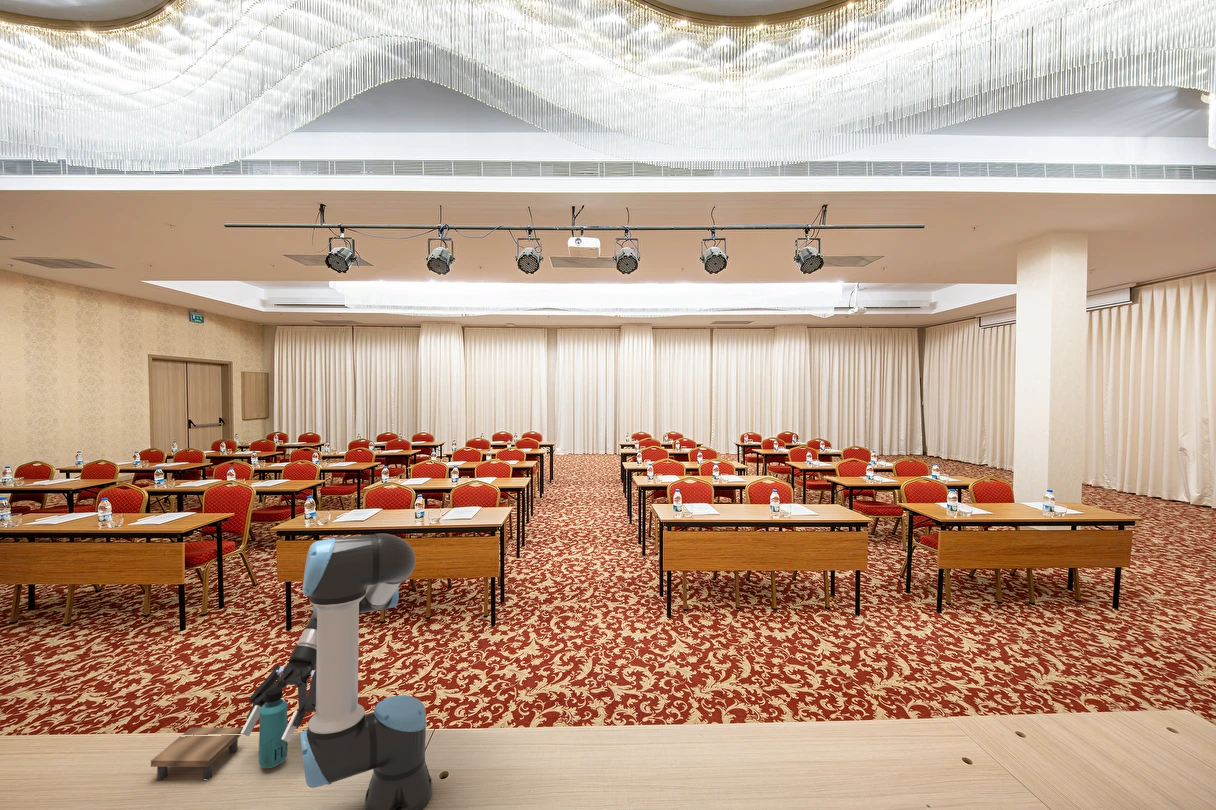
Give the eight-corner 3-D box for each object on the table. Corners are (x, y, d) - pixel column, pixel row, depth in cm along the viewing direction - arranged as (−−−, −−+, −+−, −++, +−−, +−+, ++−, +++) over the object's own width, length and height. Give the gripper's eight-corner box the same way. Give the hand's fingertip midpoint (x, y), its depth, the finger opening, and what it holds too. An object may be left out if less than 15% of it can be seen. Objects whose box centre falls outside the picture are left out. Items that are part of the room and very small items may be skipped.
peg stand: (242, 747, 143) (243, 727, 143) (208, 782, 130) (208, 760, 130) (190, 747, 143) (190, 727, 143) (150, 782, 130) (150, 760, 130)
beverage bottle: (273, 776, 133) (274, 698, 133) (251, 772, 134) (252, 695, 134) (293, 759, 139) (294, 685, 139) (272, 755, 141) (273, 681, 140)
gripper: (352, 658, 150) (313, 747, 135) (280, 649, 153) (233, 735, 138) (340, 648, 144) (298, 739, 129) (265, 640, 148) (215, 728, 133)
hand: (264, 737), depth 134 cm, fingers open, 11 cm apart
